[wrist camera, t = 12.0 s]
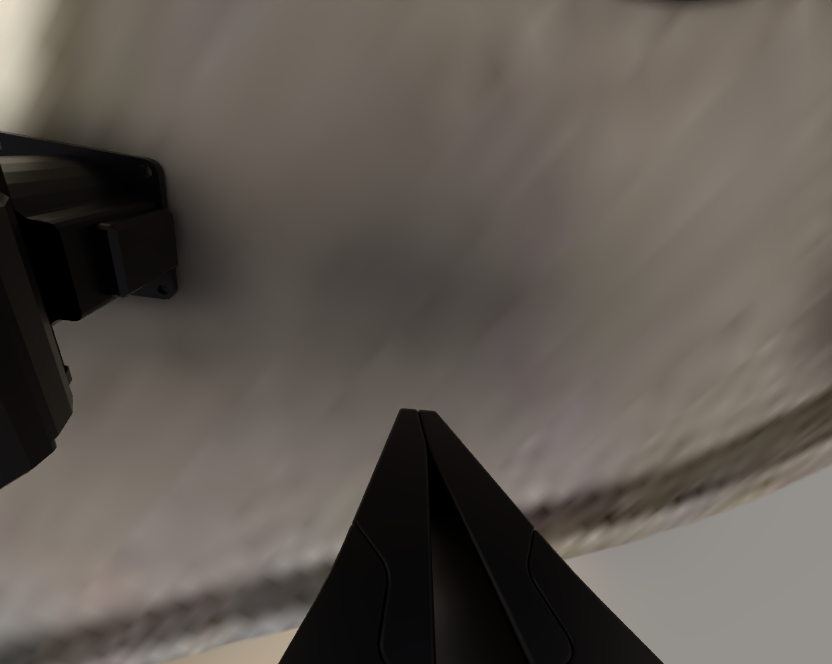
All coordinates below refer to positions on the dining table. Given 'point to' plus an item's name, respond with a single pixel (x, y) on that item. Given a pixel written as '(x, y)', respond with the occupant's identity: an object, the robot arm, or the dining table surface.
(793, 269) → the dining table surface
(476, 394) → the dining table surface
